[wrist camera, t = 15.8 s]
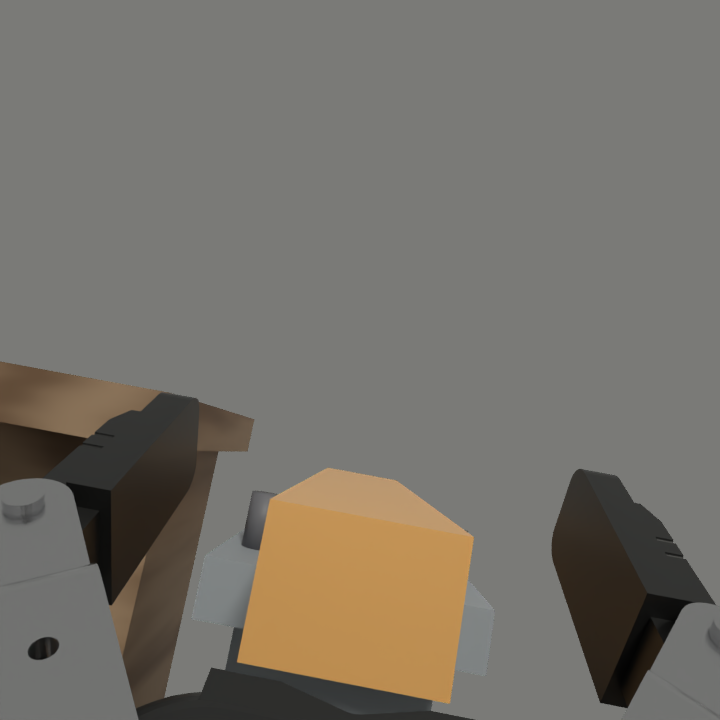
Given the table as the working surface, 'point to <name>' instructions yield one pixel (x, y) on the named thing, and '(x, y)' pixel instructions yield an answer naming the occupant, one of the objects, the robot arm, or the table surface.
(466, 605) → the tall gray pegged stand
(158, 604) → the tall walnut stand
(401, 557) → the orange bar
